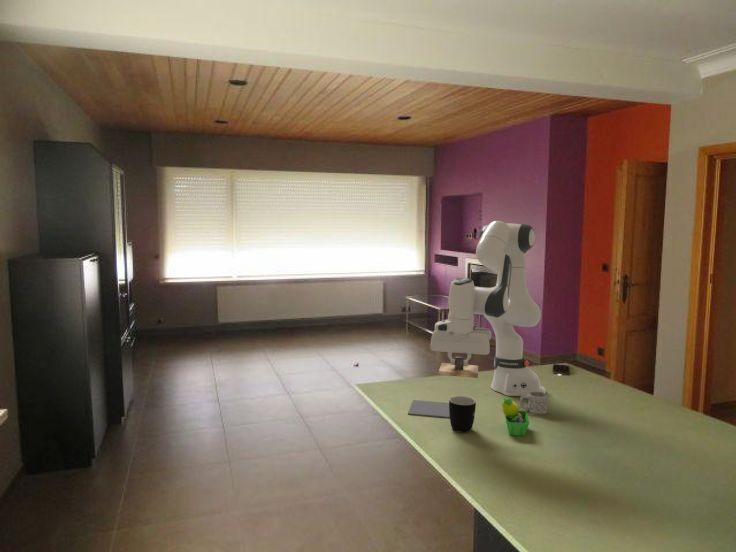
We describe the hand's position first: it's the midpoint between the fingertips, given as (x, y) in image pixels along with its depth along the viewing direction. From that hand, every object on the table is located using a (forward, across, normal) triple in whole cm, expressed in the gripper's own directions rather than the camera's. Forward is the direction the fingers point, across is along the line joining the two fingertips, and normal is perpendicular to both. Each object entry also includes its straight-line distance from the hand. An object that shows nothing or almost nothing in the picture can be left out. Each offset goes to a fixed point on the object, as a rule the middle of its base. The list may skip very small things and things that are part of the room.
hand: (459, 365), depth 181 cm
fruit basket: (+22, -19, -1) cm, 29 cm away
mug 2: (+22, -27, -22) cm, 41 cm away
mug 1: (+22, -2, +1) cm, 22 cm away
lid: (+2, 0, 0) cm, 2 cm away
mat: (+22, +11, -14) cm, 28 cm away
